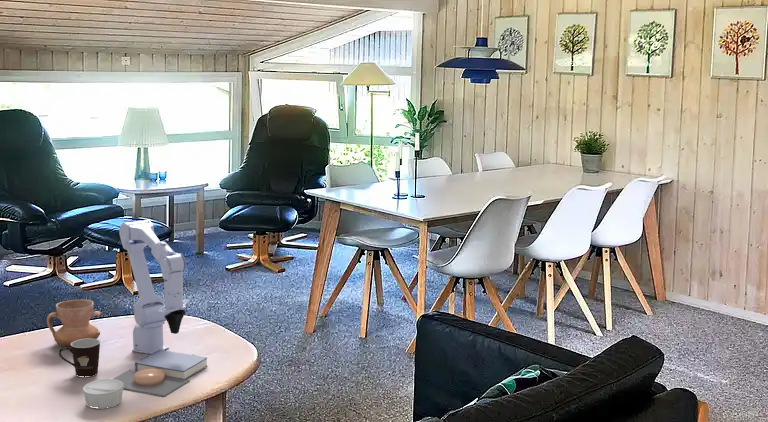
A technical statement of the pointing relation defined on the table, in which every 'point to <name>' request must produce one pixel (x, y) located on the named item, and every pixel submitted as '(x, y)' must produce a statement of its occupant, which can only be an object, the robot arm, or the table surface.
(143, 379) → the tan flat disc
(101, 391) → the ramekin
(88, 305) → the ceramic jug
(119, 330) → the table surface
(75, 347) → the coffee mug
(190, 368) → the book
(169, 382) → the placemat
